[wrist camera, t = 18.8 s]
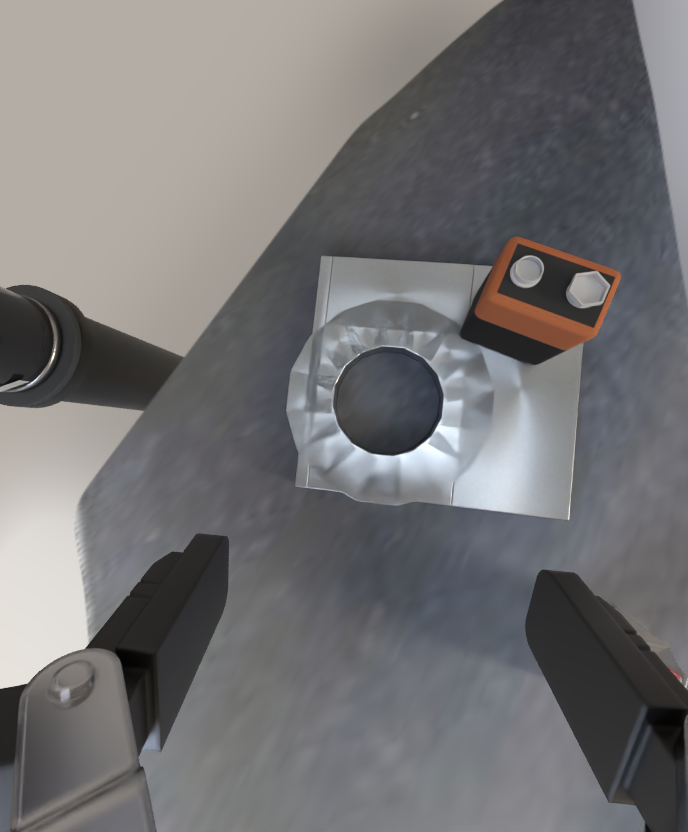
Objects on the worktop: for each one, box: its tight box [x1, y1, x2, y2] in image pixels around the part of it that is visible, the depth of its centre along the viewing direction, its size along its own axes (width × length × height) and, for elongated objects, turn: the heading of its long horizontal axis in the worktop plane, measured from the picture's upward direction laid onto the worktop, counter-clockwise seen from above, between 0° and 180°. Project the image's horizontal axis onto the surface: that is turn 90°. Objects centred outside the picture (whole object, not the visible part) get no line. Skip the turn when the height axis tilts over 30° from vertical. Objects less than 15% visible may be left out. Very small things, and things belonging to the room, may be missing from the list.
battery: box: [460, 237, 621, 365], centre depth 27 cm, size 4×7×10 cm, turn 67°
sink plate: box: [286, 256, 583, 521], centre depth 33 cm, size 24×20×2 cm
